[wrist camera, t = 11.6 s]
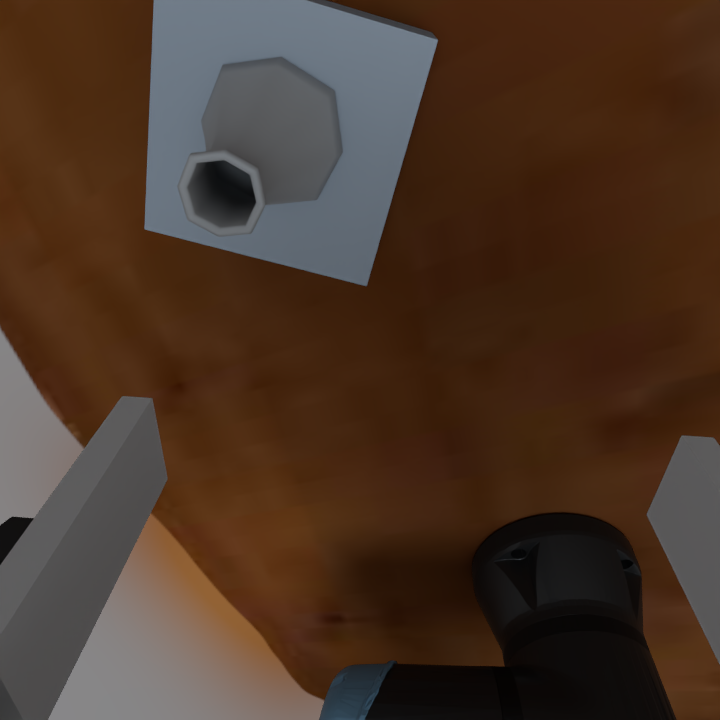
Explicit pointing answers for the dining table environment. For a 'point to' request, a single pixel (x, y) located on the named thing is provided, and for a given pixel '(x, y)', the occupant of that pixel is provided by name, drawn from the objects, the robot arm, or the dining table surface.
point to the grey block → (354, 106)
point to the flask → (260, 145)
